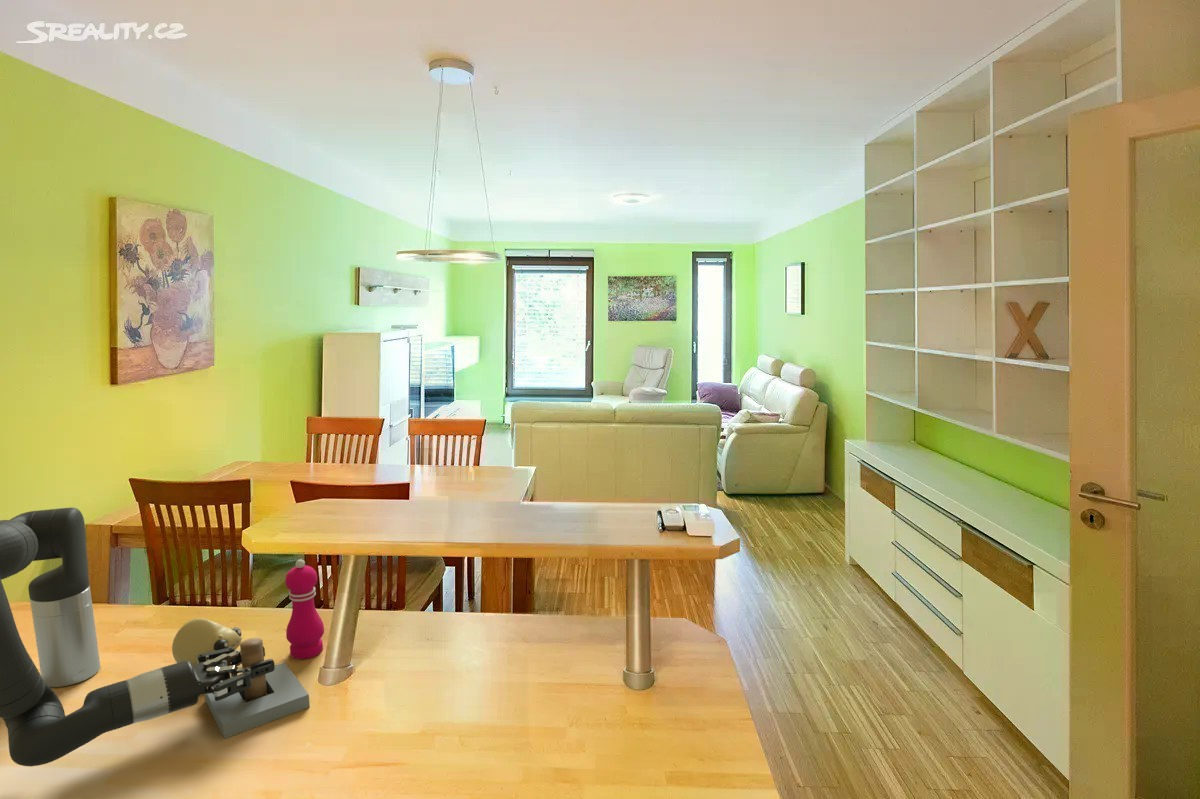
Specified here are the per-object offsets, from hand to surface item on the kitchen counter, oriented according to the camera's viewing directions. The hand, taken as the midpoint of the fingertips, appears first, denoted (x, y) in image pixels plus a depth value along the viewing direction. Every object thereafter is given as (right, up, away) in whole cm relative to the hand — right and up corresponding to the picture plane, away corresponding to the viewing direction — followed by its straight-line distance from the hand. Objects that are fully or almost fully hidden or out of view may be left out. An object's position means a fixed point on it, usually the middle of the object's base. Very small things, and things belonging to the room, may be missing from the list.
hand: (268, 657), depth 132 cm
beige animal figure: (-17, -6, +11) cm, 21 cm away
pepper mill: (0, -5, +18) cm, 19 cm away
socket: (-2, -8, 0) cm, 9 cm away
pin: (-2, -8, 0) cm, 9 cm away
